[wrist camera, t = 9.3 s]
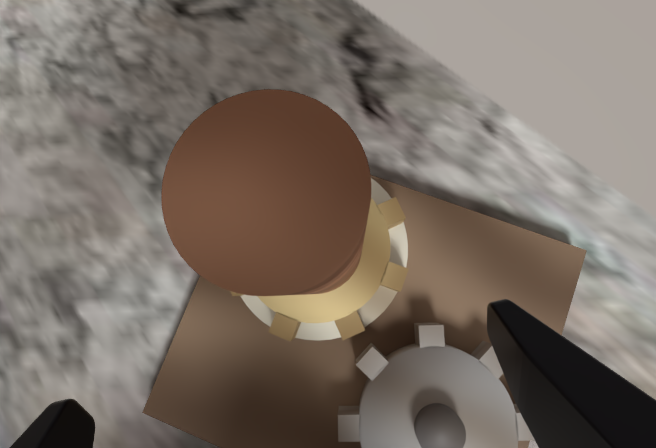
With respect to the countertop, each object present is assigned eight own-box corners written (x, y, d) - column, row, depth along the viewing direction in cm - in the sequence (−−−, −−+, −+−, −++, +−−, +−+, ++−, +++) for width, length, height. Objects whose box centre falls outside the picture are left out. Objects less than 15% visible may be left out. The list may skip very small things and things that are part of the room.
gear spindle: (369, 368, 20) (395, 490, 8) (203, 300, 21) (-11, 312, 9) (430, 198, 21) (537, 66, 9) (269, 141, 22) (163, -48, 10)
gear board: (483, 552, 20) (510, 607, 16) (153, 406, 22) (115, 427, 18) (574, 252, 22) (615, 245, 18) (263, 143, 24) (248, 118, 20)
